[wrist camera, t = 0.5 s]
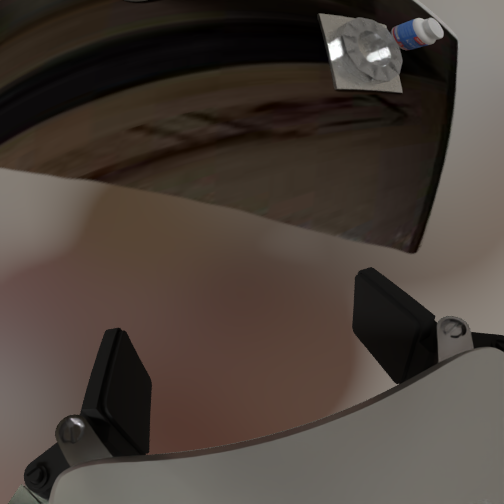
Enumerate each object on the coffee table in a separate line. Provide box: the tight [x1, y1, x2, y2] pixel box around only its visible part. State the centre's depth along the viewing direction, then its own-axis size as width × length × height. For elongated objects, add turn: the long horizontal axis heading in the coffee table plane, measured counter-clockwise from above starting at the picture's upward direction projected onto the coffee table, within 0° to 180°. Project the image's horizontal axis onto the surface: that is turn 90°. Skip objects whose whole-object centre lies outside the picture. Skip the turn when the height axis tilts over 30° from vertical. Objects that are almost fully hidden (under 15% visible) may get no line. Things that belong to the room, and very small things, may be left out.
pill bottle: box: [392, 18, 443, 50], centre depth 29 cm, size 6×5×10 cm
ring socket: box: [317, 13, 403, 93], centre depth 32 cm, size 14×14×4 cm
